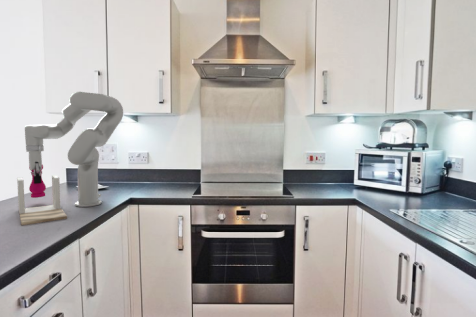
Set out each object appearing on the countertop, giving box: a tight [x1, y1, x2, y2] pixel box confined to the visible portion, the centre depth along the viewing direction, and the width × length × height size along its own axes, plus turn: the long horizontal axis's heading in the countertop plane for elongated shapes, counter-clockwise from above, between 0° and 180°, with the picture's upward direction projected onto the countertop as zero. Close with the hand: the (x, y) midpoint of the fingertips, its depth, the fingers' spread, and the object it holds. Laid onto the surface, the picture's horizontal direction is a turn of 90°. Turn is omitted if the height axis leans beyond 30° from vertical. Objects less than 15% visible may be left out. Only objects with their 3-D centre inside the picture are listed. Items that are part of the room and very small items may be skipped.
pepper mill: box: [28, 164, 47, 199], centre depth 148 cm, size 7×7×20 cm
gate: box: [16, 174, 61, 216], centre depth 136 cm, size 10×16×16 cm, turn 130°
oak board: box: [19, 208, 68, 226], centre depth 125 cm, size 16×16×1 cm
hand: (37, 182), depth 148 cm, fingers closed on pepper mill, 5 cm apart
